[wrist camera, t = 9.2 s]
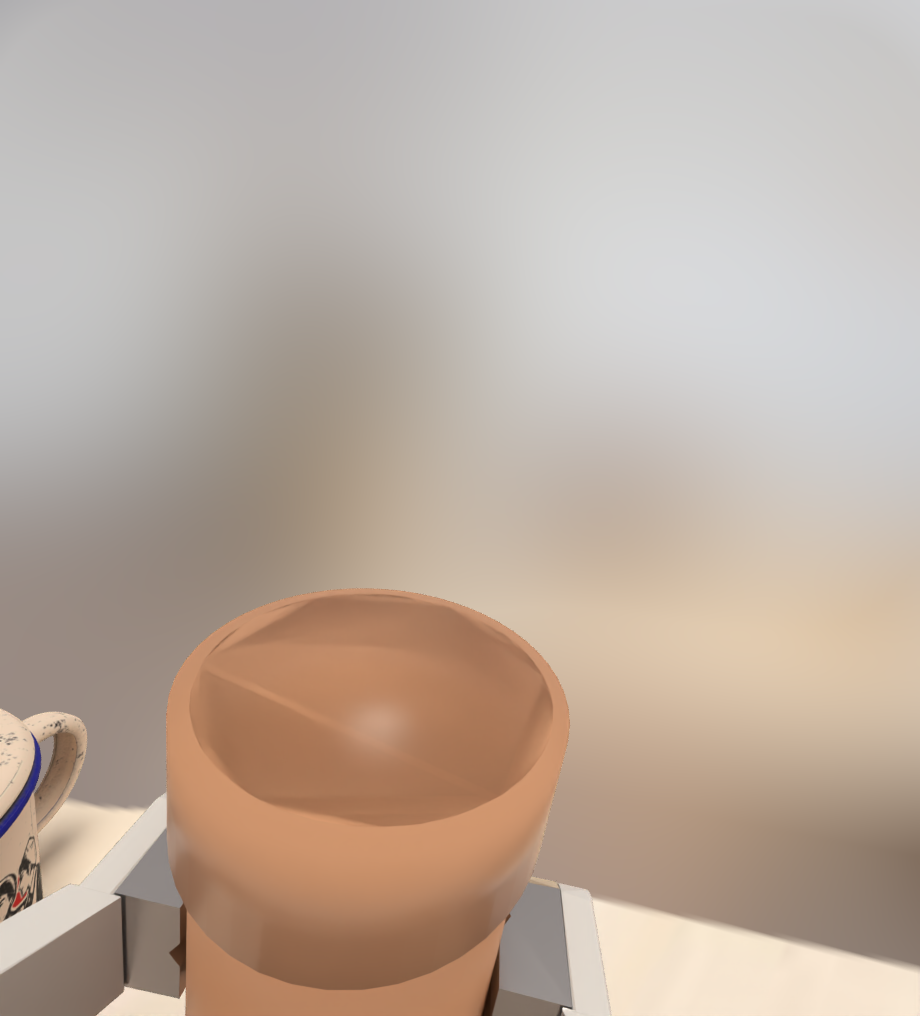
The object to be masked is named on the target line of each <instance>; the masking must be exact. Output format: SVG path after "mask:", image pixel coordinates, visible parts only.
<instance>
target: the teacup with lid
mask: <svg viewBox="0 0 920 1016" xmlns="http://www.w3.org/2000/svg"><path fill="white" fill-rule="evenodd" d="M50 736H54V749H53V755H52V758H51V762H50V765H49V767H48V770H47V772H46V774H45V776H44V778H43V780H42V782H41V784H40V786H39V787H38V789H37V791H36V792H35V793H34V789H35V786H36V783H37V781H38V777H39V773H40V769H41V753H40V747H39V745H38V744H39V743H40V742H41V741H43V740H45V739H47V738H48V737H50ZM86 747H87V733H86V728H85V725H84V724H83V722H82V721H81V720H80V719H79V718H78V717H76V716H73V715H70V714H66V713H62V712H46V713H41V714H37V715H34V716H32V717H29V718H27V719H25V720H23V721H21V720H20V719H18V718H17V717H15V716H14V715H12V714H10V713H9V712H7V711H5V710H2V709H0V923H1V922H3V921H4V920H6V919H8V918H10V917H11V916H13V915H15V914H17V913H19V912H20V911H22V910H24V909H26V908H28V907H29V906H31V905H33V904H35V903H36V902H38V901H40V900H42V899H43V891H42V879H41V868H40V856H39V845H38V833H39V832H40V831H41V830H42V829H43V828H44V827H45V826H46V825H47V823H48V822H49V821H50V820H51V819H52V818H53V816H54V815H55V814H56V813H57V812H58V810H59V809H60V807H61V806H62V805H63V803H64V802H65V800H66V799H67V797H68V795H69V794H70V792H71V790H72V788H73V786H74V784H75V782H76V780H77V778H78V775H79V773H80V770H81V768H82V765H83V761H84V758H85V753H86Z"/></svg>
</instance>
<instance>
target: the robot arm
mask: <svg viewBox="0 0 920 1016" xmlns="http://www.w3.org/2000/svg"><path fill="white" fill-rule="evenodd" d="M186 929H187V909H186V907H185V905H184V903H183V901H182V899H181V897H180V895H179V893H178V891H177V889H176V887H175V883H174V879H173V876H172V872H171V868H170V865H169V860H168V847H167V792H166V793H165V794H163V795H162V796H160V797H159V798H157V799H156V800H155V801H154V802H153V803H152V804H151V806H150V807H149V808H148V809H147V810H146V811H145V812H144V813H143V815H142V816H141V817H140V818H139V819H138V820H137V821H136V822H135V823H134V825H133V826H132V827H131V828H130V829H129V830H128V831H127V832H126V834H125V835H124V836H123V837H122V838H121V839H120V840H119V841H118V842H117V844H116V845H115V846H114V847H113V848H112V849H111V850H110V851H109V853H108V854H107V855H106V856H105V857H104V858H103V859H102V860H101V861H100V863H99V864H98V865H97V866H96V867H95V868H94V869H93V870H92V872H91V873H90V874H89V875H88V876H87V877H86V878H85V879H84V880H83V882H82V883H81V884H80V885H74V884H69V885H67V886H65V887H63V888H61V889H60V890H58V891H56V892H54V893H52V894H51V895H49V896H47V897H45V898H44V899H42V900H40V901H38V902H36V903H35V904H33V905H31V906H29V907H28V908H26V909H24V910H22V911H20V912H19V913H17V914H15V915H13V916H11V917H10V918H8V919H6V920H4V921H3V922H1V923H0V1016H96V1015H97V1014H98V1013H99V1012H101V1011H102V1010H103V1009H104V1008H105V1007H106V1006H108V1005H109V1004H110V1003H111V1002H112V1001H113V1000H114V999H116V998H117V997H118V996H119V995H120V994H121V993H123V992H124V986H125V987H129V988H134V989H138V990H143V991H147V992H152V993H156V994H161V995H165V996H170V997H174V998H178V999H179V998H180V996H181V995H182V993H183V991H184V989H185V987H186ZM482 1016H612V1014H611V1008H610V1002H609V996H608V990H607V985H606V979H605V973H604V967H603V961H602V955H601V949H600V943H599V937H598V932H597V926H596V920H595V914H594V908H593V902H592V897H591V895H590V893H589V891H588V890H586V889H582V888H578V887H573V886H569V885H564V884H560V883H556V882H555V881H551V880H546V879H542V878H537V877H532V876H531V878H530V880H529V882H528V884H527V886H526V888H525V890H524V892H523V894H522V896H521V897H520V899H519V900H518V902H517V903H516V905H515V906H514V907H513V909H512V910H511V912H510V913H509V914H508V916H507V917H506V920H505V924H504V928H503V932H502V936H501V941H500V945H499V949H498V953H497V957H496V961H495V965H494V969H493V973H492V977H491V981H490V986H489V990H488V994H487V998H486V1002H485V1006H484V1010H483V1014H482Z"/></svg>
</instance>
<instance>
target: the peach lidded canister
mask: <svg viewBox="0 0 920 1016" xmlns="http://www.w3.org/2000/svg"><path fill="white" fill-rule="evenodd" d="M166 721H167V723H166V726H167V727H166V730H167V731H166V735H167V736H166V744H167V746H166V747H167V748H166V750H167V751H166V753H167V847H168V860H169V865H170V868H171V872H172V876H173V879H174V883H175V887H176V889H177V891H178V893H179V895H180V897H181V899H182V901H183V903H184V905H185V907H186V909H187V929H186V1010H185V1016H482V1014H483V1010H484V1006H485V1002H486V998H487V994H488V990H489V986H490V981H491V977H492V973H493V969H494V965H495V961H496V957H497V953H498V949H499V945H500V941H501V936H502V932H503V928H504V924H505V920H506V917H507V916H508V914H509V913H510V912H511V910H512V909H513V907H514V906H515V905H516V903H517V902H518V900H519V899H520V897H521V896H522V894H523V892H524V890H525V888H526V886H527V884H528V882H529V880H530V878H531V876H532V874H533V872H534V868H535V865H536V862H537V859H538V855H539V852H540V849H541V844H542V841H543V837H544V833H545V829H546V825H547V821H548V818H549V813H550V810H551V806H552V802H553V798H554V794H555V790H556V786H557V782H558V778H559V774H560V771H561V767H562V763H563V759H564V755H565V751H566V747H567V743H568V737H569V728H570V720H569V709H568V705H567V701H566V697H565V694H564V691H563V689H562V687H561V685H560V682H559V680H558V678H557V676H556V675H555V673H554V672H553V670H552V669H551V667H550V666H549V664H548V663H547V662H546V661H545V660H544V659H543V657H542V656H541V655H540V654H539V653H538V652H537V651H536V650H535V649H534V648H533V647H532V646H531V645H530V644H529V643H528V642H527V641H525V640H524V639H523V638H521V637H520V636H519V635H517V634H516V633H515V632H513V631H512V630H510V629H509V628H507V627H506V626H504V625H502V624H501V623H499V622H497V621H495V620H493V619H491V618H490V617H488V616H486V615H484V614H482V613H479V612H477V611H475V610H472V609H470V608H468V607H465V606H462V605H459V604H456V603H454V602H450V601H447V600H443V599H440V598H436V597H432V596H427V595H423V594H418V593H411V592H405V591H397V590H388V589H367V588H366V589H337V590H327V591H320V592H313V593H307V594H302V595H297V596H294V597H289V598H285V599H282V600H278V601H276V602H272V603H270V604H266V605H264V606H261V607H259V608H256V609H254V610H252V611H250V612H247V613H245V614H243V615H241V616H239V617H237V618H235V619H234V620H232V621H230V622H228V623H226V624H225V625H224V626H222V627H221V628H219V629H218V630H216V631H215V632H214V633H212V634H211V635H210V636H209V637H208V638H206V639H205V640H204V641H203V642H202V643H201V644H199V645H198V646H197V648H196V649H195V650H194V651H193V652H192V653H191V654H190V656H189V657H188V658H187V659H186V660H185V662H184V664H183V665H182V667H181V669H180V670H179V672H178V674H177V675H176V677H175V680H174V682H173V685H172V688H171V691H170V693H169V698H168V706H167V713H166Z"/></svg>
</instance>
